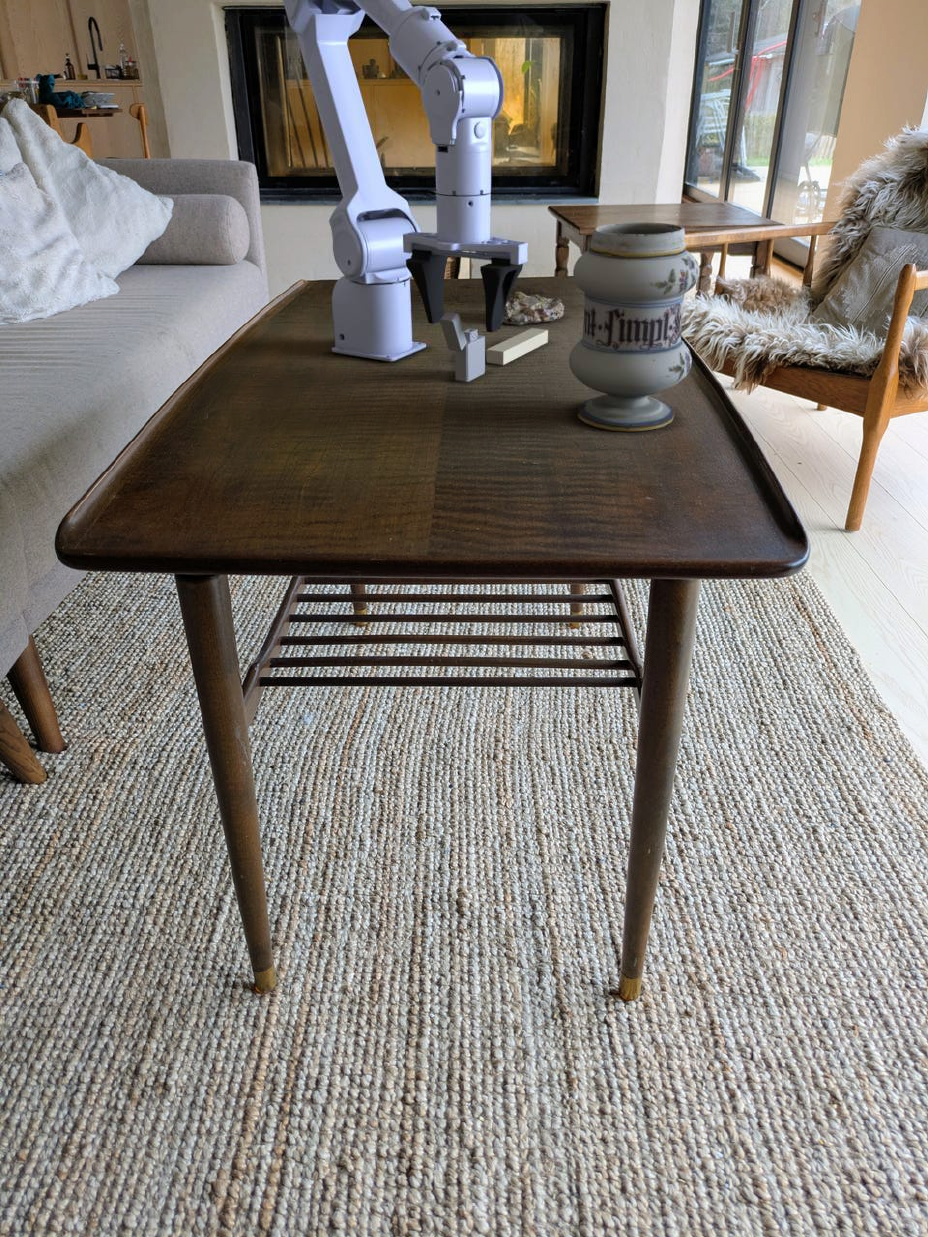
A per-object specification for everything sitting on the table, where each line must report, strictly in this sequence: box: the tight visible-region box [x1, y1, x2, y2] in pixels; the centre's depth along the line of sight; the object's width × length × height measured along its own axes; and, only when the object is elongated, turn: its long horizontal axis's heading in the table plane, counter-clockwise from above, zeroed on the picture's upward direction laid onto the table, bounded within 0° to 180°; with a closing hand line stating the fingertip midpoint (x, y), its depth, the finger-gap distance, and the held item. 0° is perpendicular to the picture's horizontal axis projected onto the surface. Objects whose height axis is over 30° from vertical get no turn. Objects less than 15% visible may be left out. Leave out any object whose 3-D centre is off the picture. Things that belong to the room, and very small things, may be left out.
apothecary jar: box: [568, 221, 701, 433], centre depth 88 cm, size 12×12×18 cm
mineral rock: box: [502, 291, 565, 326], centre depth 128 cm, size 11×4×8 cm
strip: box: [485, 327, 549, 366], centre depth 113 cm, size 2×12×2 cm, turn 149°
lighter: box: [439, 311, 486, 383], centre depth 102 cm, size 7×2×8 cm, turn 149°
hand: (464, 325), depth 101 cm, fingers open, 7 cm apart
